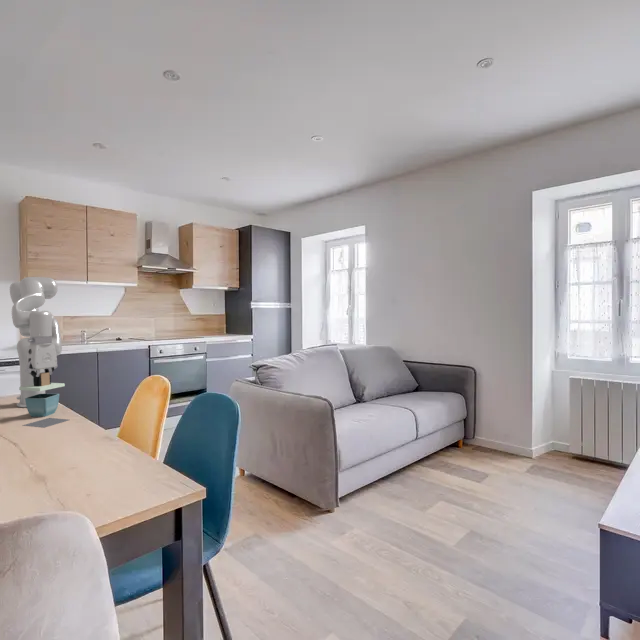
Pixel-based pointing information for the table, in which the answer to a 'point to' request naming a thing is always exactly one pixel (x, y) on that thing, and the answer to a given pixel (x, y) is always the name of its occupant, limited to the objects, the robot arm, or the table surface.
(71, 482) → the table surface
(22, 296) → the robot arm
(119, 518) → the table surface
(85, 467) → the table surface
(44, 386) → the lid
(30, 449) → the table surface
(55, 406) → the flower pot
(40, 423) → the mat
